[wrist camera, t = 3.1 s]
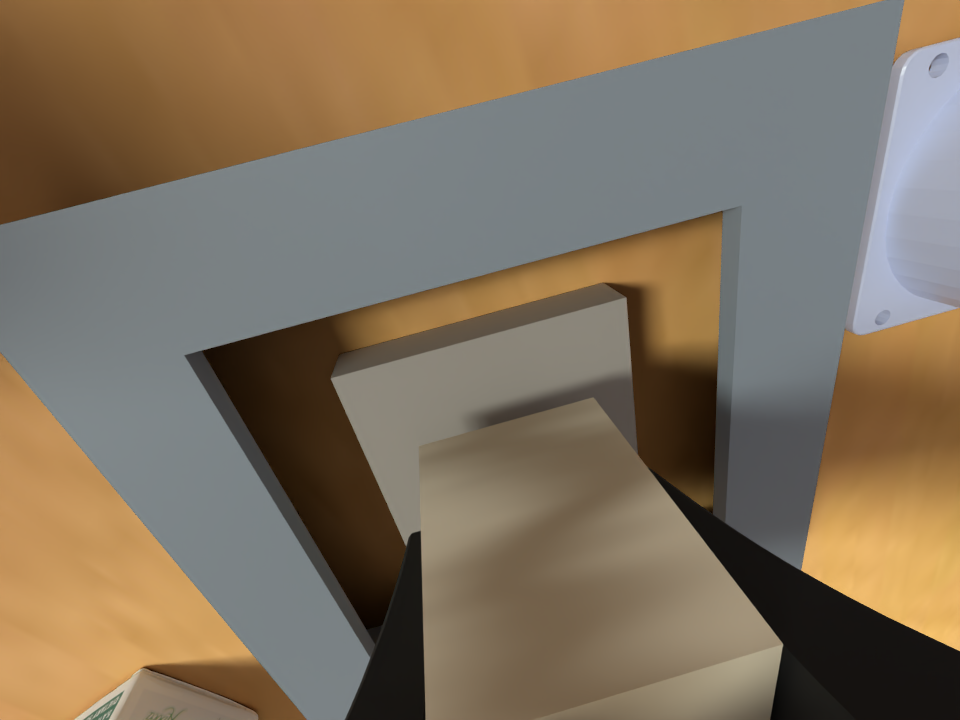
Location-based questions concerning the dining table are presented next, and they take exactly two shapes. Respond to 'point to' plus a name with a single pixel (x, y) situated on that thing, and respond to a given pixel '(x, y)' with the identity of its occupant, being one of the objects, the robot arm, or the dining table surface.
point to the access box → (470, 343)
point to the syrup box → (164, 702)
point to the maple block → (576, 585)
